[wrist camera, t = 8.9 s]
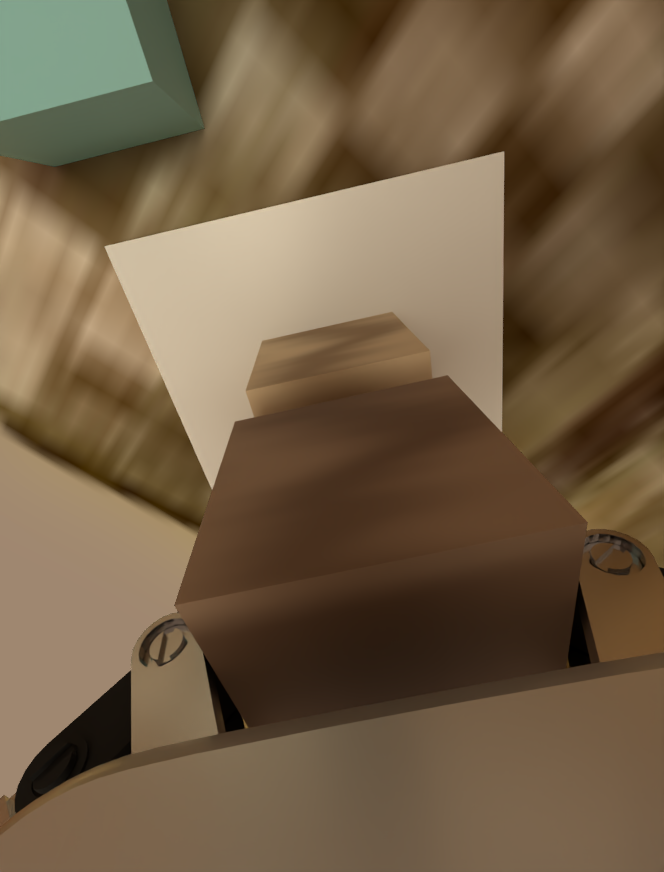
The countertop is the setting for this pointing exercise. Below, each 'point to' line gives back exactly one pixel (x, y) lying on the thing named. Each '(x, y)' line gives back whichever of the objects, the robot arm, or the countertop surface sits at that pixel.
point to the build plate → (324, 287)
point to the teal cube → (90, 78)
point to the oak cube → (336, 363)
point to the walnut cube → (378, 556)
